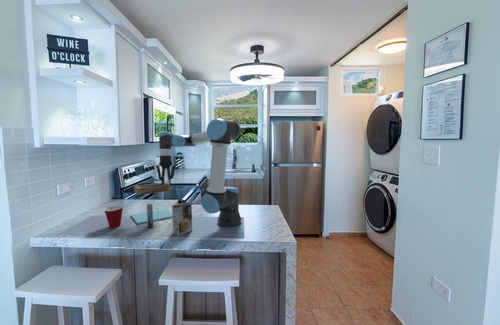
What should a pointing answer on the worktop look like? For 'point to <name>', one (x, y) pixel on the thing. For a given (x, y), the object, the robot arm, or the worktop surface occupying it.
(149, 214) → the metal post
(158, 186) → the walnut link
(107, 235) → the worktop surface
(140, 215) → the teal pad
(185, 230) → the coffee box
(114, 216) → the plastic cup
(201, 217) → the worktop surface
